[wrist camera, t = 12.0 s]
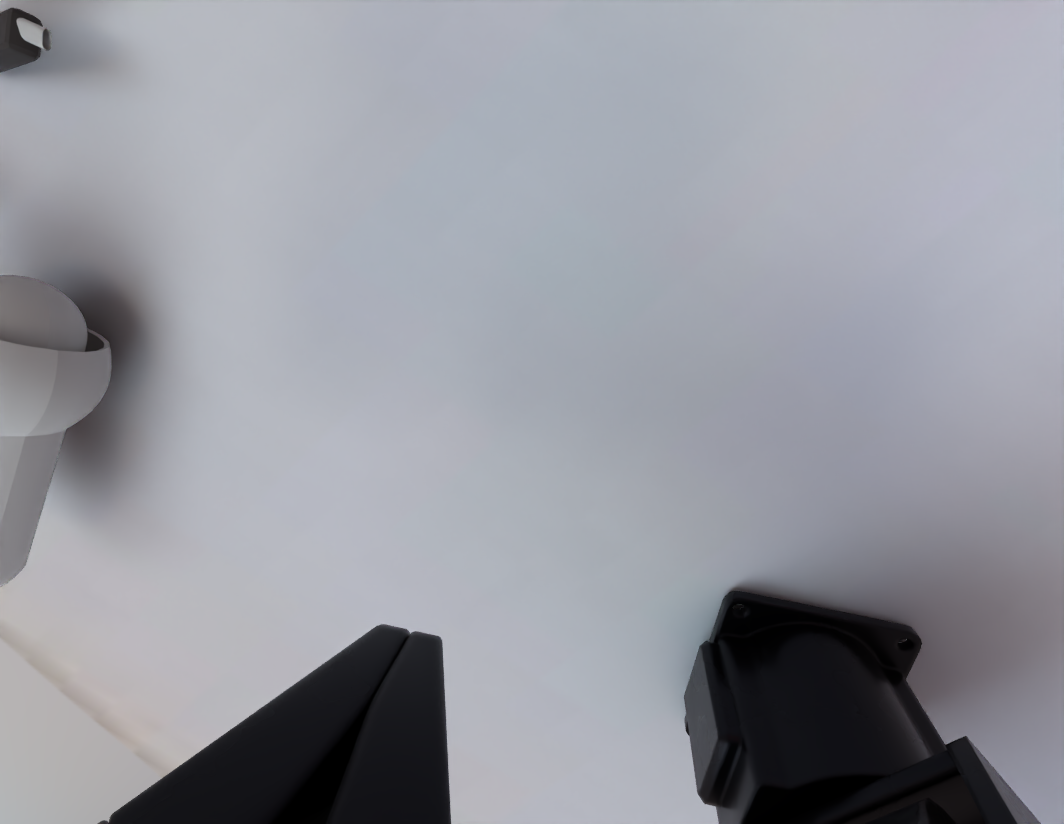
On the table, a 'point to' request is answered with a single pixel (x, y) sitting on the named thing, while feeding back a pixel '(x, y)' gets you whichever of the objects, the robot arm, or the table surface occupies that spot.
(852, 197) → the table surface
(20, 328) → the clip-on lamp
